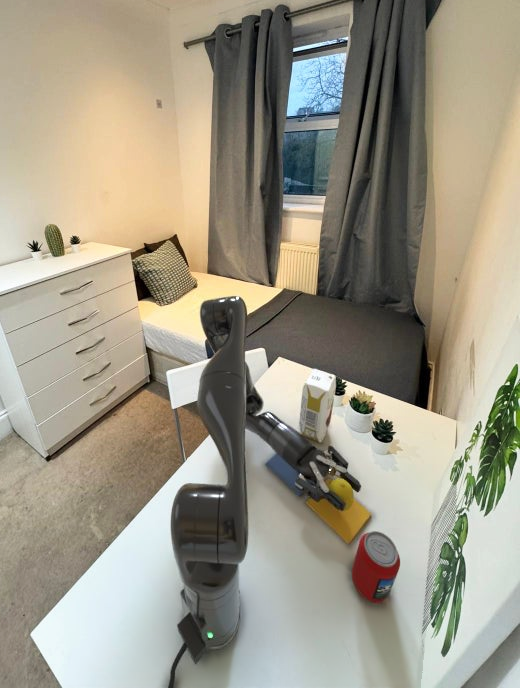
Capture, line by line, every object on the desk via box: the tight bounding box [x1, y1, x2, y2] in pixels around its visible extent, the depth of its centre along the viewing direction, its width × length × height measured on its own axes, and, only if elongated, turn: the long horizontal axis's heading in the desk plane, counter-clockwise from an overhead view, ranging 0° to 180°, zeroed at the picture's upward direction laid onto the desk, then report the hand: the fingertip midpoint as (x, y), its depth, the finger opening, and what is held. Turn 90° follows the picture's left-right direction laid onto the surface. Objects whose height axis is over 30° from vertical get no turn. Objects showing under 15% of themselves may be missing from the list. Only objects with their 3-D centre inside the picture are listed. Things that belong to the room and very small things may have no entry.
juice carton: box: [298, 368, 337, 443], centre depth 91 cm, size 8×9×19 cm
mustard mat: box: [305, 477, 372, 545], centre depth 75 cm, size 9×11×1 cm
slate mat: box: [265, 453, 313, 497], centre depth 84 cm, size 9×11×1 cm
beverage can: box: [351, 530, 401, 604], centre depth 60 cm, size 7×7×12 cm
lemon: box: [328, 477, 355, 511], centre depth 73 cm, size 6×6×8 cm
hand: (352, 498), depth 70 cm, fingers closed on lemon, 5 cm apart
